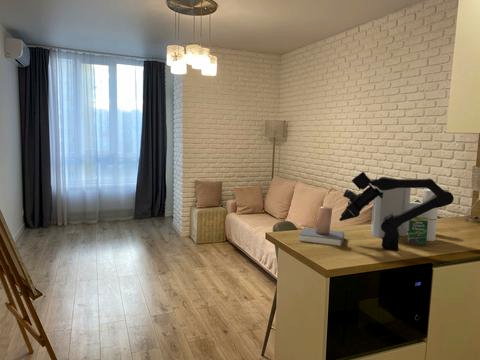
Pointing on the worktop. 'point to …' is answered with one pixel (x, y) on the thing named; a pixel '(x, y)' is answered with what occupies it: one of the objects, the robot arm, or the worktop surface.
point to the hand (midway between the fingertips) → (340, 218)
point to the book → (322, 237)
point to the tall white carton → (390, 209)
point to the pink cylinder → (324, 220)
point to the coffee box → (418, 231)
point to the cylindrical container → (430, 216)
